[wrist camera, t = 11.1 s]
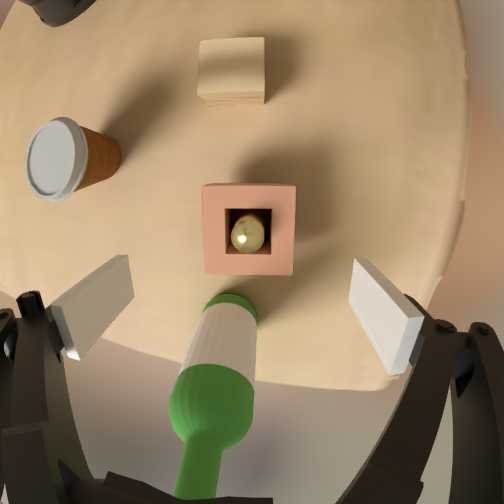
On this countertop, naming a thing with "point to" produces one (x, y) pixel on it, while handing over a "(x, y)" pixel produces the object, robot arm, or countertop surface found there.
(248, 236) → the light bulb
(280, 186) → the square frame block
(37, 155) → the disposable coffee cup
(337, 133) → the countertop surface
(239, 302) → the wine bottle
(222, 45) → the stand
